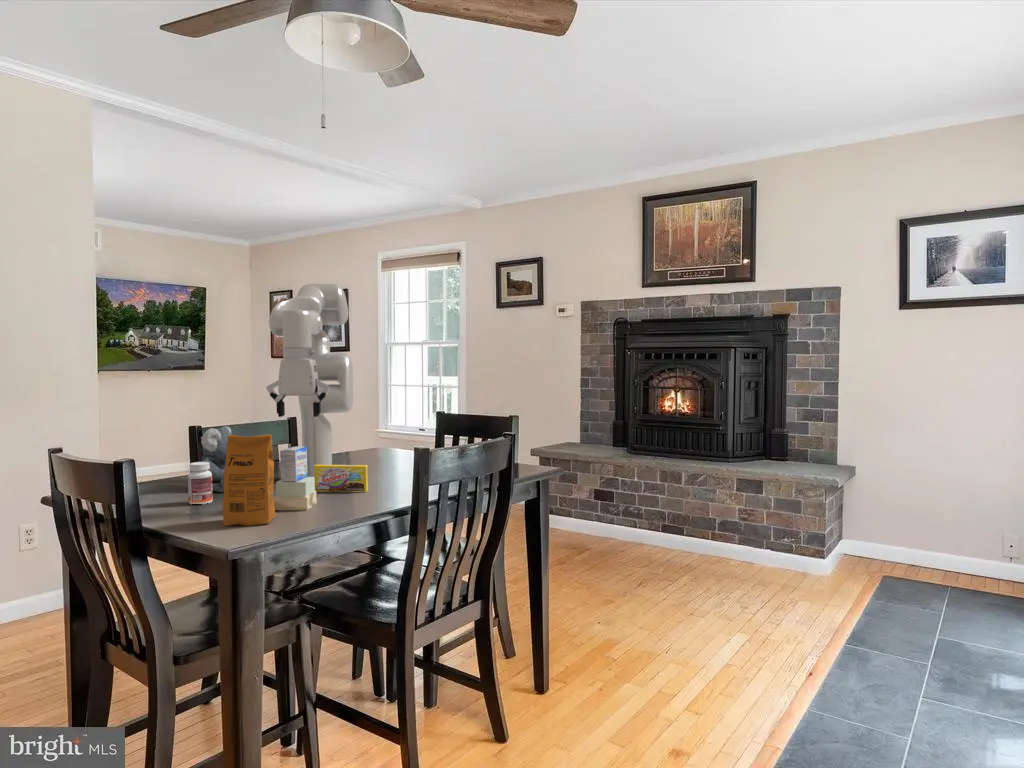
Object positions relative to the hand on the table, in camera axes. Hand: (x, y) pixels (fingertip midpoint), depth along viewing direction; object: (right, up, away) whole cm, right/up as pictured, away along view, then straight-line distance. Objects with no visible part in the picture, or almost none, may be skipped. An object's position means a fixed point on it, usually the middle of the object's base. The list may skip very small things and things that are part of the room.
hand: (298, 416), depth 190 cm
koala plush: (-33, -24, +26) cm, 48 cm away
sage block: (0, -21, -1) cm, 21 cm away
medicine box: (-1, -18, -1) cm, 18 cm away
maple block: (0, -25, -2) cm, 25 cm away
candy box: (+7, -24, +19) cm, 32 cm away
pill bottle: (-29, -25, +4) cm, 38 cm away
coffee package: (-7, -26, -18) cm, 32 cm away
